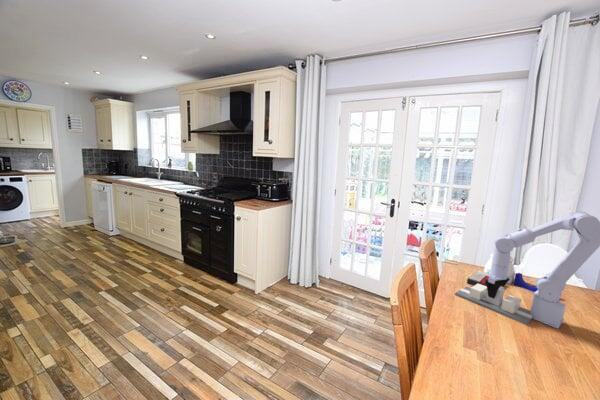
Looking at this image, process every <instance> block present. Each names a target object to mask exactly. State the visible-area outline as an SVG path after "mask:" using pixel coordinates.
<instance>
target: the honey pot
mask: <svg viewBox="0 0 600 400" xmlns="http://www.w3.org/2000/svg"><path fill="white" fill-rule="evenodd" d="M489 256H490V258H489V259H488V261H487V262H486V264H485V265H484V269H483V272H486V273H487V271H491V265H492V259H493V253H491V254H490V255H489ZM514 261H515V259H514V258H513V257H511V255H510V262H509V267H508V273H507V278H509V279H510V280H509V281H508V282H507V283H506V284H512V283H513V284H514V280H515V275H516V271H515V268H514V263H513V262H514Z"/></svg>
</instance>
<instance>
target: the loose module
mask: <svg viewBox="0 0 600 400" xmlns="http://www.w3.org/2000/svg"><path fill="white" fill-rule="evenodd" d="M504 295H505V286H504V287H500V288H499V289H498V291H497V294H496V296H495V298H494V299H493V298H491V297H488V290H487V289H486V295H485V301H487V302H489V303H492V304H494V305H497V306H499V305H500V304H501V303H502V300H504Z"/></svg>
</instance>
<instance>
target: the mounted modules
mask: <svg viewBox="0 0 600 400" xmlns="http://www.w3.org/2000/svg"><path fill="white" fill-rule="evenodd" d="M486 289H487V287H486V286H484V285H481V284H476V285H474V286H473V285H472V286H471V287H470V294H469V296H470V297H472V298H475V299H477V300H480V299H482V298H483V297H485V295H486ZM521 301H522V298H519V297H517V296H514V295H511V294H509V295H507V296H506V297H505V298H503V302H502V307H501V309H502V310H505V311H507V312H510V313H512V314H514V313H515V312H516V311H517V310H518V309H519V308H520V307H521Z"/></svg>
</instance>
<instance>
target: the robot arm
mask: <svg viewBox="0 0 600 400" xmlns="http://www.w3.org/2000/svg"><path fill="white" fill-rule="evenodd" d="M561 230H565V231H574V230H575V231H576V234H577V236H578V238H579V240H578V241H577V242H576V244H575V245H574V246H573V247H572V248H571V249H570V250H569V251H568V252H567V253H566V254H565V256H563V258H562V259H561V260H560V262H558V264H556V266H555V267H554V268H553V269H552V270H551V271H550V272H547V273H546V274H545V275H544V276H542V277H539V278H537V279H536V281H535V286H536V287H537V289H538V290H537V291H536V292H533V297H532V302H531V306H530V313H531V314H532V315H533V318H532V320H535V321H538V322H541V323H542V324H545V325H548V326H550V327H552V328H555V329H559V328H560V326H561V325H562V323H564V316H565V312H566V306H567V305H566V303H564V302H561V301H560V299H561V298H562V293H563V291H564V290H565V289H566V288H565V287H566V284H567V282H568V281H569V280H570V278H572V277H573V275H574V274H575V273H577V271H578V270H579V269H580V268H581V267H582V266H583V264H585V263H586V262H587V261H588V259H589V258H590V257H592V255H593V254H594V253H595V252H596V251H598V249H599V248H600V220H599V219H598V217H595V216H594V215H591V214H589V213H588V212H586V211H575V212H572V213H571V214H570V213H569V214H565V215H562V216H560V217H557V218H555V219H553V220H551V221H548V222H545V223H543V224H541V225H538V226H536V227H533V228H521V227H518V229H517V231H514V232H512V233H505V234H504V236H503V235H501V236H498V237H496V239H495V240H494V244H495V247H494V249H493V251H494V252H493V253H492V254H493V259H492V265H491V271H487V274H489V276H490V277H489V279H485V283H486V286H487V290H488V297H491V298H493V299H494V298H495V296H496V294H497V291H498V289H499V288H500V287H504V288H505V286H506V284H507V282H508V281H509V280H510V279H509V278H507V273H508V267H509V262H510V256H511V252H513V250H514V248H519V247H523V246H525V245H528V244H530V243H534V242H535V241H536V238H537V237H540V236H543V235H547V234H550V233H553V232H557V231H561Z"/></svg>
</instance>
